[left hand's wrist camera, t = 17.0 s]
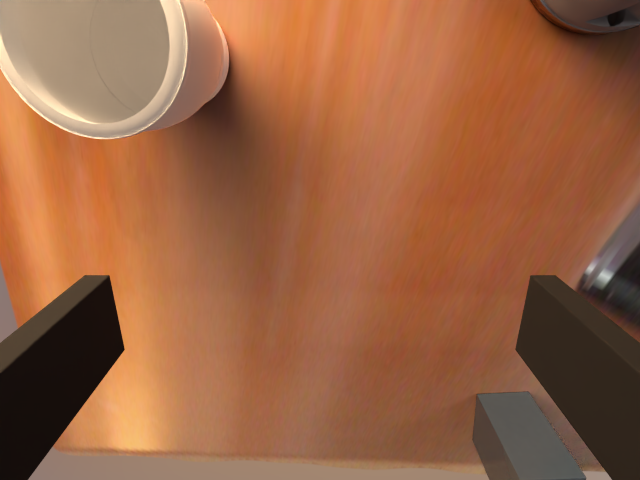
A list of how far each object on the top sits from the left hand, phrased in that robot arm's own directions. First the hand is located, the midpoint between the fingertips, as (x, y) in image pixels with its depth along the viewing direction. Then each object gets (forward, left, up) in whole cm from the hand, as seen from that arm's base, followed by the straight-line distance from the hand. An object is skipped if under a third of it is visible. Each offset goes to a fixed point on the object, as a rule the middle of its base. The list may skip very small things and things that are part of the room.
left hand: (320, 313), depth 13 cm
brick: (+6, +37, -27) cm, 46 cm away
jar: (+2, -15, -27) cm, 31 cm away
